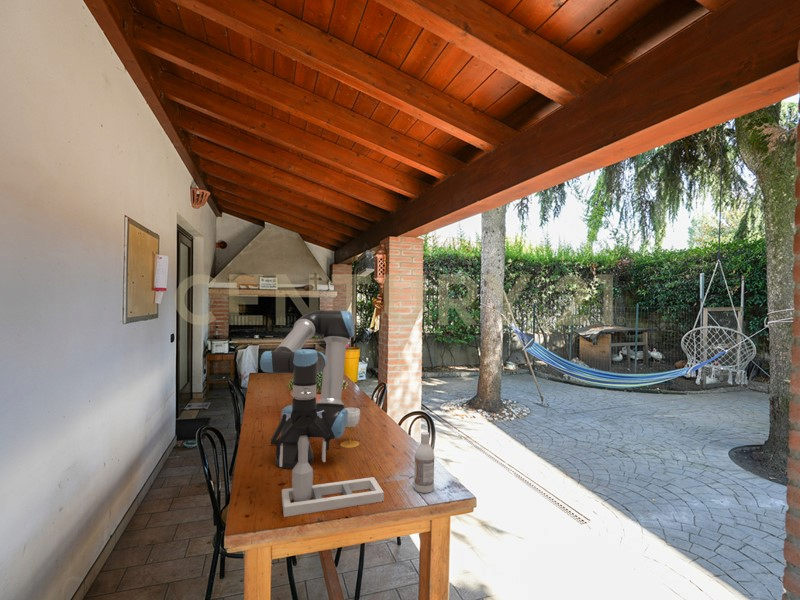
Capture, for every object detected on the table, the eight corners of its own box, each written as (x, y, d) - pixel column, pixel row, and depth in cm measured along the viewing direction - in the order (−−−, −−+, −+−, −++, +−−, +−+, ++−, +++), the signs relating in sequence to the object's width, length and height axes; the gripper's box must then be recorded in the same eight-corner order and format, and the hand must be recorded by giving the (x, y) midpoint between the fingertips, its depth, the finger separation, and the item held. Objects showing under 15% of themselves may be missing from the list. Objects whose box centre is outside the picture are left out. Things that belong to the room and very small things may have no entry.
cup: (346, 449, 176) (347, 413, 176) (336, 443, 183) (337, 409, 183) (363, 445, 182) (364, 410, 182) (352, 439, 189) (353, 406, 189)
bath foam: (413, 484, 143) (415, 429, 144) (432, 484, 143) (434, 430, 144) (414, 493, 137) (415, 435, 137) (434, 494, 136) (435, 436, 137)
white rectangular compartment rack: (283, 517, 120) (284, 507, 120) (281, 498, 131) (281, 489, 131) (383, 501, 131) (383, 492, 131) (373, 485, 142) (373, 477, 142)
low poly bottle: (315, 504, 128) (317, 436, 128) (299, 511, 123) (300, 441, 123) (304, 497, 132) (306, 432, 132) (287, 504, 127) (289, 436, 127)
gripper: (264, 402, 120) (262, 472, 119) (344, 397, 128) (342, 462, 128) (263, 396, 127) (261, 462, 127) (340, 392, 135) (338, 454, 135)
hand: (302, 463), depth 127 cm, fingers open, 13 cm apart
